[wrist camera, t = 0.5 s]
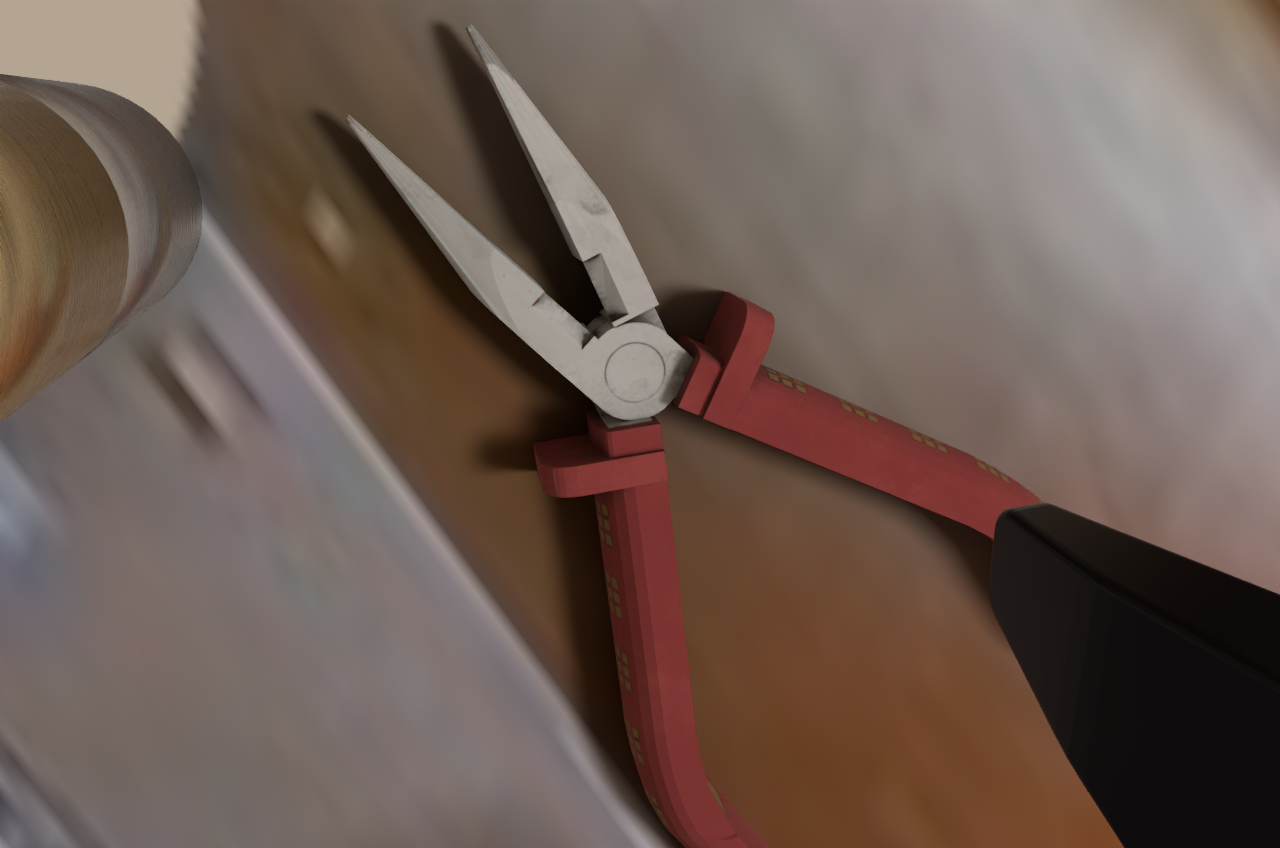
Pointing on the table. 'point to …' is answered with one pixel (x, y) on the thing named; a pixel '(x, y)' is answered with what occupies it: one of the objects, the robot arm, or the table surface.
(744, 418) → the pliers
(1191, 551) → the table surface
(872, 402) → the table surface
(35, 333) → the coupler
